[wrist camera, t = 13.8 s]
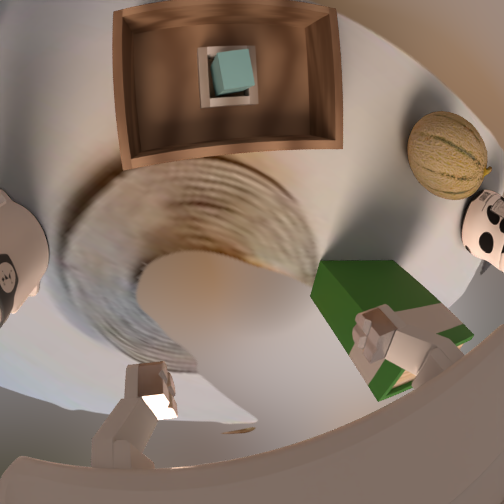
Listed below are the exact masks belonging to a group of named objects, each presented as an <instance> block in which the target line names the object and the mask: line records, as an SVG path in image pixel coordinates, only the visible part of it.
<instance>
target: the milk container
mask: <svg viewBox="0 0 504 504" xmlns="http://www.w3.org/2000/svg"><path fill="white" fill-rule="evenodd" d="M461 237H462V242H463V245H464V247H465V248H466V249H467V250H468V251H469V252H470V253H471V254H472V255H474V256H476V257H478V258H481V259H484V260H487V261H488V262H490V263H491V264H492V265H494V266H495V267H496V268H497V269H499V270H501V271H502V272H503V273H504V198H503V197H502V196H501V195H499V194H498V193H496V192H494V191H491V190H481V191H479V192H478V193H477V194H476V195H475V196H474V197H473V198H472V199H471V201H470V203H469V205H468V207H467V209H466V212H465V215H464V218H463V223H462V233H461Z"/></svg>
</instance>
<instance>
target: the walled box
mask: <svg viewBox="0 0 504 504" xmlns="http://www.w3.org/2000/svg"><path fill="white" fill-rule="evenodd" d="M242 49H248V50H249V55H250V60H251V66H252V71H253V76H254V82H255V85H254V86H252V87H250V88H248V89H245V90H243V91H241V92H239V93H232V94H227V95H221V96H215V91H214V86H213V81H212V76H211V70H210V66H211V64H212V62H213V60H214V58H215V56H216V54H217V53H219V52H226V51H233V50H242ZM112 50H113V83H114V99H115V111H116V121H117V130H118V139H119V146H120V153H121V160H122V167H123V170H128V169H133V168H138V167H143V166H148V165H154V164H160V163H166V162H172V161H178V160H185V159H192V158H200V157H208V156H216V155H226V154H236V153H247V152H260V151H276V150H298V149H343V91H342V68H341V53H340V40H339V30H338V20H337V12H336V9H335V8H330V7H326V6H321V5H316V4H310V3H304V2H298V1H290V0H170V1H163V2H156V3H150V4H145V5H140V6H135V7H130V8H126V9H122V10H118V11H114V12H113V43H112Z"/></svg>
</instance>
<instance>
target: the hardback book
mask: <svg viewBox="0 0 504 504" xmlns="http://www.w3.org/2000/svg"><path fill="white" fill-rule="evenodd" d="M310 297H311V298H312V300H313V301H314V303H315V304H316V306H317V307H318V309H319V311H320V312H321V314H322V315H323V317H324V318H325V320H326V321H327V323H328V324H329V326H330V327H331V329H332V330H333V332H334V333H335V335H336V336H337V338H338V340H339V341H340V342H341V344H342V346H343V347H344V349H345V350H346V352H347V353H348V355H349V357H350V358H351V360H352V361H353V363H354V364H355V366H356V368H357V369H358V371H359V372H360V374H361V375H362V377H363V378H364V380H365V382H366V383H367V385H368V386H369V388H370V390H371V391H372V393H373V394H374V396H375V398H376V399H377V401H378V402H379V401H381V400H384V399H386V398H389V397H392V396H394V395H396V394H399V393H401V392H404V391H406V390H408V389H410V388H413V387H412V386H411V385H412V382H413V380H414V379H415V377H416V375H414V374H412V373H410V372H408V371H406V370H405V369H403V368H401V367H399V366H397V365H396V364H394V363H392V362H390V361H388V360H386V359H385V358H383V359H381V360H378V361H376V362H373V363H371V364H370V363H369V362H368V361H367V359H366V358H365V357H364V355H363V349H361V348H359V347H357V345H356V344H355V342H354V340H353V335H352V331H353V327H354V326H355V325H356V324H357V322H356V321H355V318H356V315H357V314H358V313H361V312H364V311H367V310H369V309H372V308H376V307H378V306H381V305H384V304H386V305H388V306H389V307H390V308H391V309H392V310H393V311H394V312H395V313H396V314H397V315H398V316H399V317H400V318H401V319H402V320H403V321H404V323H405V324H406V325H408V324H410V325H413V326H416V327H418V328H421V329H424V330H427V331H429V332H432V333H435V334H438V335H440V336H443V337H446V338H449V339H450V340H451V341H452V342H453V343H454V344H455V345H456V346H457V347H458V348H459V349H460V348H461V347H462V345H463V344H464V343H465V342H467V341H469V340H471V339H472V338H473V336H474V334H473V333H472V332H471V331H470V330H469V329H468V328H467V327H466V326H465V325H464V324H463V323H462V322H461V321H460V320H459V319H458V318H457V317H456V316H455V315H454V314H453V313H452V312H451V311H450V310H449V309H448V308H447V307H445V306H444V305H443V304H442V303H441V302H440V301H439V300H438V299H437V298H436V297H435V296H434V295H433V294H431V293H430V292H429V291H428V290H427V289H426V288H425V287H424V286H423V285H421V284H420V283H419V282H418V281H417V280H416V279H415V278H413V277H412V276H411V275H410V274H409V273H408V272H406V271H405V270H404V269H403V268H402V267H401V266H399V265H398V264H397V263H396V262H395V261H393V260H346V261H320V263H319V267H318V270H317V274H316V277H315V281H314V284H313V288H312V292H311V295H310Z"/></svg>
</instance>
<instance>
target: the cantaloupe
mask: <svg viewBox="0 0 504 504" xmlns="http://www.w3.org/2000/svg"><path fill="white" fill-rule="evenodd" d="M408 160H409V164H410V167H411V169H412V171H413V173H414V175H415V177H416V179H417V180H418V181H419V183H420V184H421V185H422V186H423V187H425V188H426V189H427V190H428V191H429V192H431V193H433V194H434V195H437V196H439V197H442V198H445V199H451V200H460V199H464V198H467V197H469V196H471V195H472V194H474V193H475V192H476V191H477V189H478V188H479V187H480V185H481V183H482V181H483V179H484V176H485V175H487V174H489V173H490V172H491V171H492V167H490V166H489V167H488V168H487V169H486V167H487V150H486V147H485V144H484V141H483V139H482V138H481V136H480V134H479V133H478V131H477V130H476V128H475V127H474V126H473V125H472V124H471V123H469V122H468V121H467V120H465V119H464V118H463V117H461V116H459V115H457V114H454V113H451V112H444V111H438V112H432V113H430V114H427V115H426V116H424V117H423V118H422V119H420V120H419V121H418V122H417V123H416V124H415V126H414V127H413V129H412V131H411V134H410V136H409V140H408Z"/></svg>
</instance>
